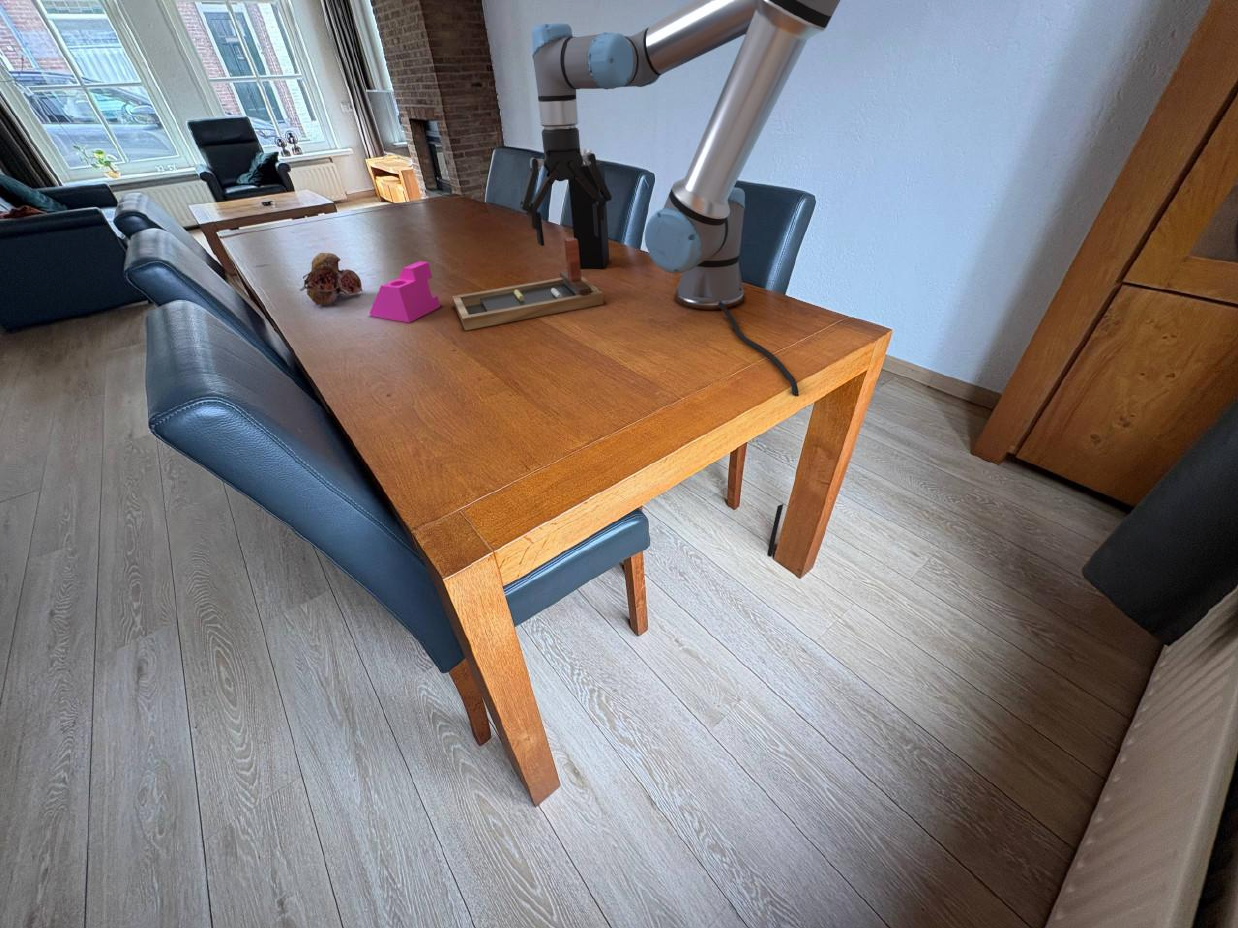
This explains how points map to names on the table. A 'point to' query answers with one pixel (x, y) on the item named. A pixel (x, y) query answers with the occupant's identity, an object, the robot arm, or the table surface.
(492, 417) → the table surface
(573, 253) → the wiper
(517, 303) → the slate
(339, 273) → the seed pod
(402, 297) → the bracket
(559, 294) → the white chalk
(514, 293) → the yellow chalk
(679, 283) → the robot arm
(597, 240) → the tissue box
